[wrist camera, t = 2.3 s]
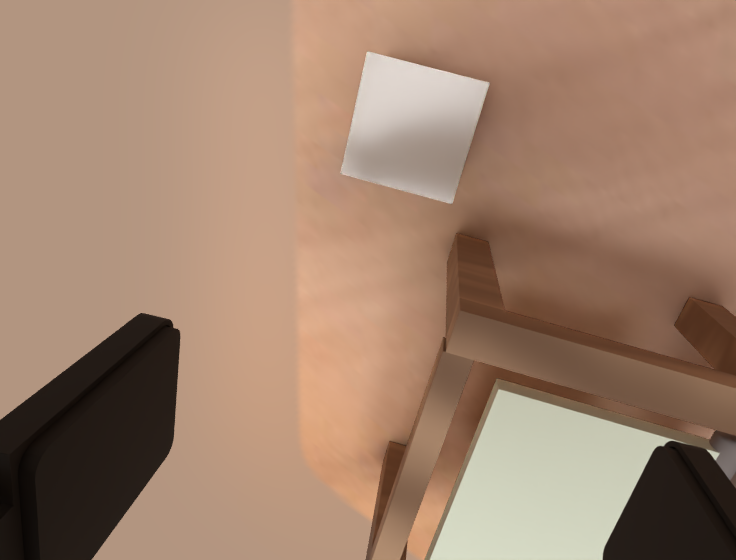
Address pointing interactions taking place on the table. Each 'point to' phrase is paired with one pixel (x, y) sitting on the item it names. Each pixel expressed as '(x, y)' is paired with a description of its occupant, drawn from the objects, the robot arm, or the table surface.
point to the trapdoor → (551, 477)
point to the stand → (544, 378)
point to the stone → (412, 127)
